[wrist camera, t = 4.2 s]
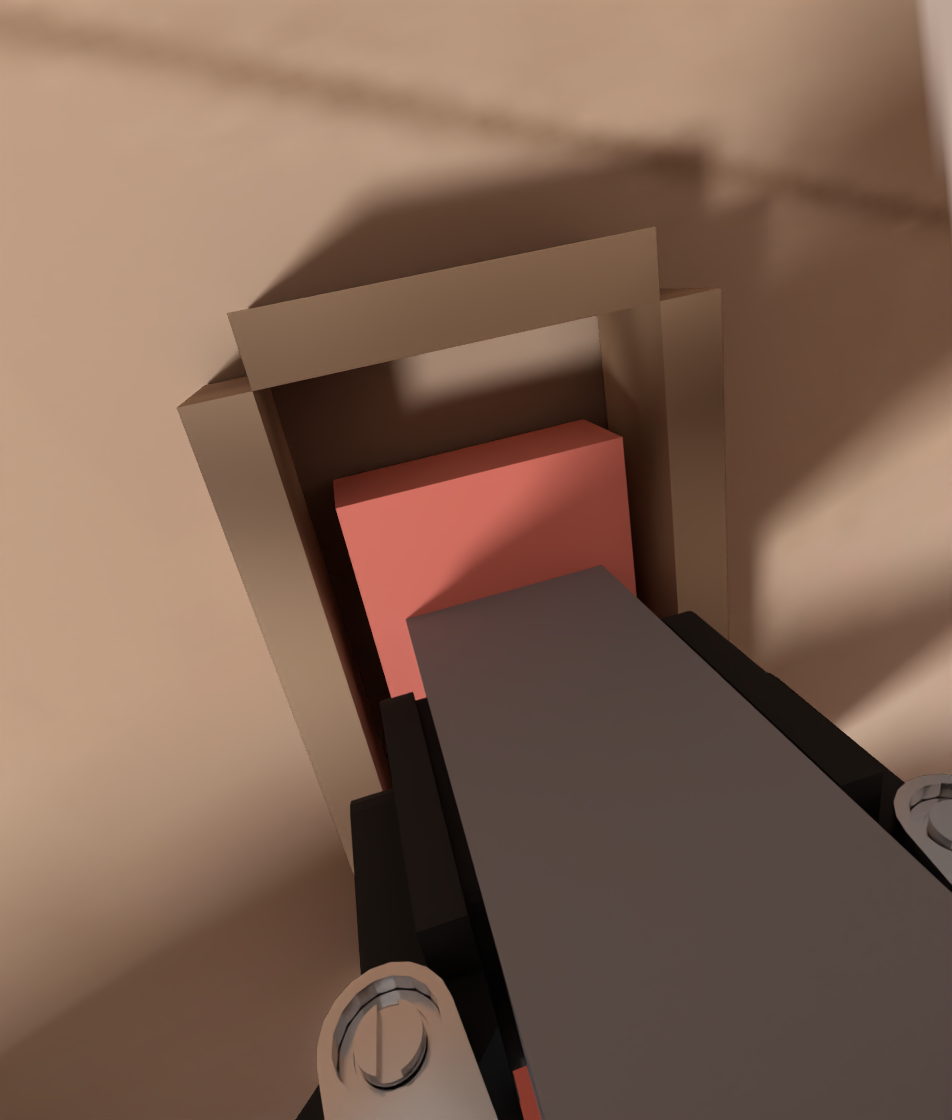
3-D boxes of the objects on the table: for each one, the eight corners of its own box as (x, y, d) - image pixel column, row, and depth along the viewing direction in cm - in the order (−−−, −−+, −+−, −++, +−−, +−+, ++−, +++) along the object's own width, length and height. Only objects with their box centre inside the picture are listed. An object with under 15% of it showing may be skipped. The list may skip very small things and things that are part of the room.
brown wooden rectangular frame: (182, 322, 10) (147, 329, 8) (642, 229, 11) (720, 213, 9) (407, 955, 17) (421, 1052, 15) (684, 859, 18) (734, 936, 16)
